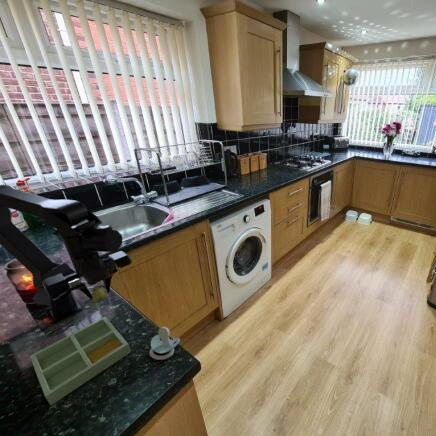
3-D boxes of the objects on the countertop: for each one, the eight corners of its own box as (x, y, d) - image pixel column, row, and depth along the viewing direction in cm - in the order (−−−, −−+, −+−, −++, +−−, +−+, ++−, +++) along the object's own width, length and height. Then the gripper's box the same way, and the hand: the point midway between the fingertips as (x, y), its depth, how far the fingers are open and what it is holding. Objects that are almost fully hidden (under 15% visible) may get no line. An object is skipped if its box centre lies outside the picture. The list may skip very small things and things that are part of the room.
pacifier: (168, 364, 59) (184, 342, 64) (162, 346, 56) (179, 325, 61) (143, 357, 60) (161, 337, 66) (136, 339, 58) (155, 320, 63)
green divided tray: (34, 364, 59) (29, 356, 58) (108, 324, 70) (104, 316, 69) (50, 405, 50) (45, 396, 49) (131, 352, 62) (128, 343, 60)
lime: (96, 308, 68) (89, 294, 66) (88, 301, 70) (81, 288, 68) (113, 297, 71) (107, 284, 69) (105, 292, 74) (98, 279, 71)
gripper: (41, 276, 53) (67, 329, 59) (133, 243, 67) (146, 289, 73) (30, 260, 60) (55, 310, 66) (116, 233, 73) (130, 276, 79)
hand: (100, 295), depth 71 cm, fingers closed on lime, 3 cm apart
